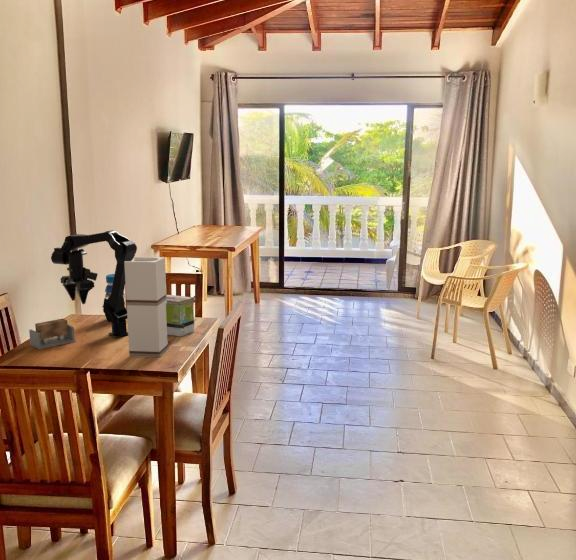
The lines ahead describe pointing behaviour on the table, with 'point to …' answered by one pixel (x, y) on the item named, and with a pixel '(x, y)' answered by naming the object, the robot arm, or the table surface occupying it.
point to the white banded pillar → (146, 306)
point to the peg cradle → (51, 339)
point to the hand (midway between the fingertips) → (78, 302)
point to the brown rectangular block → (52, 328)
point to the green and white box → (179, 315)
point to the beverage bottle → (110, 285)
